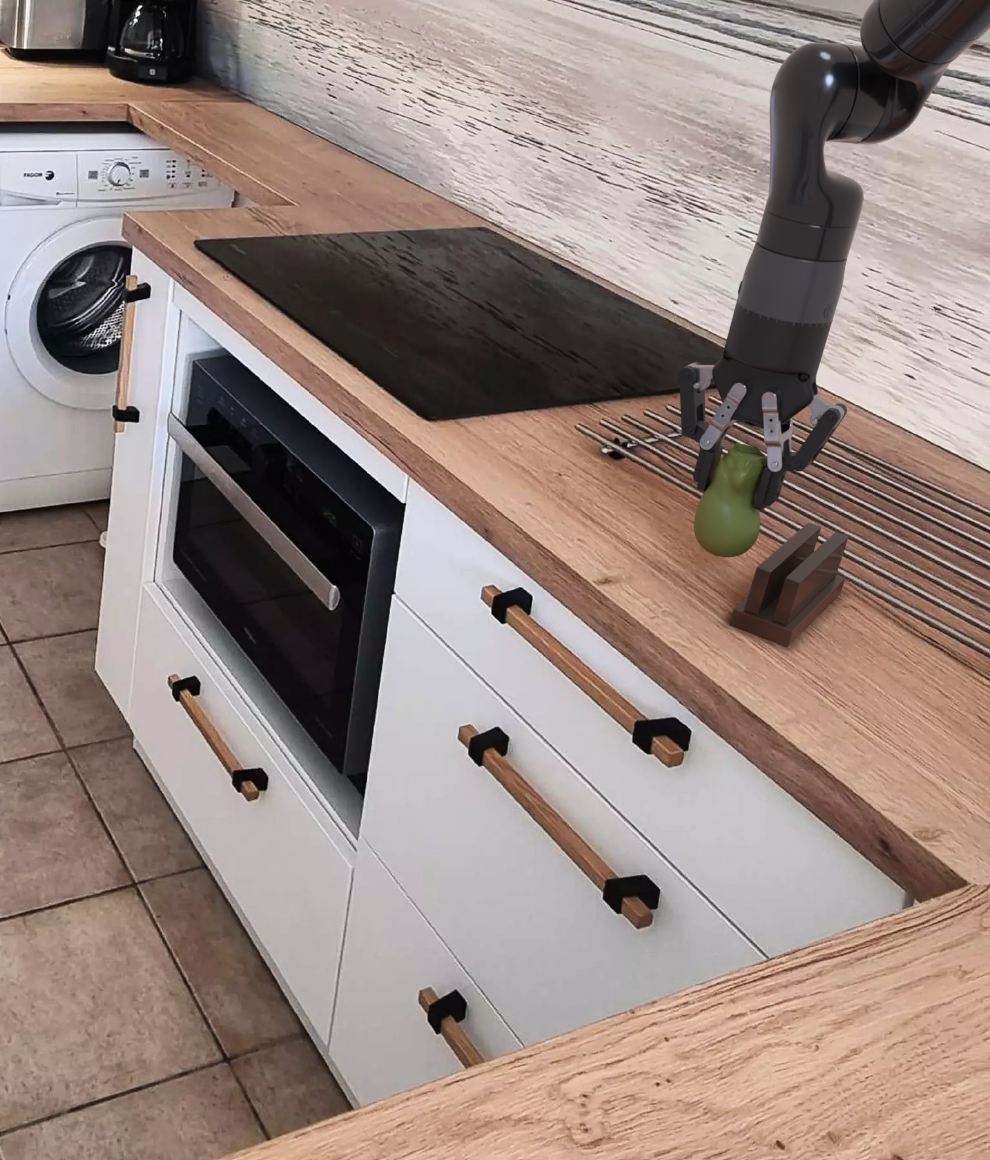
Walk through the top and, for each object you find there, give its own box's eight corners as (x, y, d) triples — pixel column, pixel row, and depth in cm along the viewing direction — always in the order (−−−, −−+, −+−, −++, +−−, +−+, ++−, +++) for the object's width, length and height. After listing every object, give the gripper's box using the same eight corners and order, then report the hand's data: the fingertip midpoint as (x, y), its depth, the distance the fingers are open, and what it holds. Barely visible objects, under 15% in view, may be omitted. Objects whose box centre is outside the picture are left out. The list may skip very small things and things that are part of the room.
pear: (715, 535, 136) (743, 431, 131) (764, 560, 132) (795, 453, 127) (674, 547, 133) (702, 441, 128) (723, 572, 129) (754, 464, 124)
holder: (840, 592, 134) (859, 536, 132) (787, 647, 124) (806, 588, 121) (785, 572, 137) (802, 517, 134) (728, 624, 126) (746, 566, 124)
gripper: (889, 319, 121) (828, 513, 129) (718, 275, 129) (670, 460, 136) (861, 337, 116) (799, 538, 124) (684, 290, 123) (636, 483, 131)
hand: (732, 496), depth 130 cm, fingers closed on pear, 4 cm apart
